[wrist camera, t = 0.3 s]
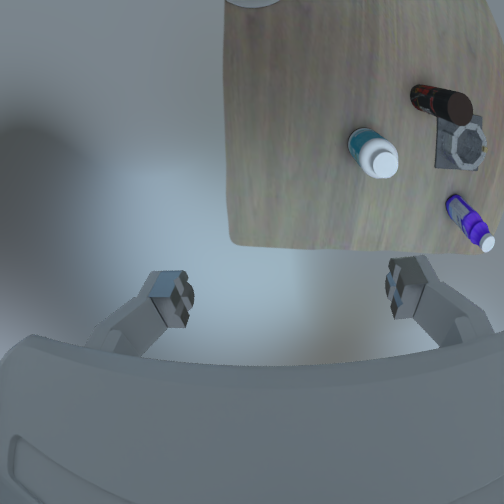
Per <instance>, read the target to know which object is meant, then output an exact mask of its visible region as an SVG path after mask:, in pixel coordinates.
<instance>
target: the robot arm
mask: <svg viewBox="0 0 504 504" xmlns="http://www.w3.org/2000/svg"><path fill="white" fill-rule="evenodd" d="M226 1H228V2H230V3H232V4H234V5H237V6H240V7H246V8H258V7H265V6H268V5H271V4H274V3H276V2H278V1H279V0H226ZM388 267H389V270H390V272H389V273H388V274H387V275H386V280H385V289H386V294H387V297H388V299H389V300H390V301H392V303H391V306H390V307H391V310H392V314H393V317H394V319H404V318H413V319H414V320H415V321H416V322H417V323H418V324H419V325H420V326H421V327H422V328H423V329H424V330H425V331H426V332H427V333H428V334H429V336H431V338H432V339H433V340H434V341H435V342H436V343H437V344H438V345H439V346H440V347H439V348H438V349H433V350H429V351H424V352H419V353H413V354H408V355H401V356H394V357H388V358H380V359H373V360H366V361H355V362H345V363H334V364H319V365H299V366H233V365H213V364H212V365H211V364H198V363H186V362H175V361H166V360H158V359H150V358H142V357H141V356H142V355H143V354H144V353H145V352H146V351H147V350H148V348H149V347H150V346H151V345H152V344H153V343H154V342H155V341H156V340H157V339H158V338H159V337H160V336H161V335H162V334H163V333H164V332H165V331H166V330H167V328H186V325H187V322H188V319H189V316H190V315H189V313H188V311H189V310H190V309H191V308H192V307H193V304H194V290H193V288H192V286H191V285H190V284H189V283H188V282H187V280H188V275H187V273H186V272H185V271H183V270H181V271H152V272H151V273H150V274H149V276H148V278H147V280H146V281H145V283H144V285H143V287H142V289H141V290H140V292H139V294H138V296H137V297H134V298H132V299H131V300H130V301H128V302H127V303H126V304H124V305H123V306H122V307H120V308H119V309H118V310H116V311H115V312H113V313H112V314H111V315H109V316H108V317H107V318H105V319H104V320H103V321H102V322H100V323H99V324H98V325H96V326H95V328H94V329H93V331H92V333H91V335H90V337H89V339H88V341H87V342H86V344H85V346H84V347H81V346H77V345H73V344H69V343H65V342H61V341H57V340H53V339H49V338H46V337H42V336H39V335H35V334H32V335H29V336H27V337H26V338H24V339H23V340H21V341H20V342H19V343H17V344H16V345H15V346H13V347H12V348H11V349H10V350H9V351H8V352H7V353H6V354H5V355H4V357H3V358H2V359H1V361H0V504H504V331H502V332H499V333H494V331H493V328H492V326H491V324H490V322H489V320H488V318H487V316H486V314H485V312H484V310H482V309H481V308H480V307H478V306H477V305H475V304H474V303H473V302H471V301H470V300H469V299H467V298H466V297H465V296H463V295H462V294H460V293H459V292H458V291H456V290H455V289H453V288H452V287H450V286H449V285H447V284H446V283H444V282H440V281H439V279H438V277H437V275H436V273H435V271H434V269H433V268H432V266H431V264H430V262H429V261H428V259H427V257H426V256H424V255H420V256H413V257H401V258H391V259H390V261H389V265H388Z"/></svg>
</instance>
